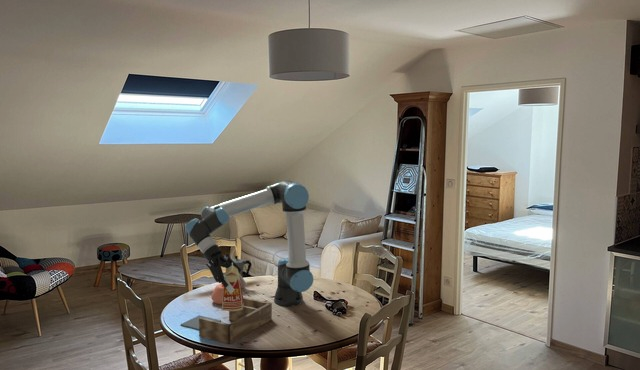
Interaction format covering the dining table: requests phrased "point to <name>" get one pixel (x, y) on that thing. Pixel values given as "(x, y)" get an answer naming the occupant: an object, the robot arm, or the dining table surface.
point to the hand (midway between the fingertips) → (238, 289)
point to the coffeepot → (242, 264)
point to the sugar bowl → (218, 294)
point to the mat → (195, 322)
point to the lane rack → (237, 322)
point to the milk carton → (235, 298)
